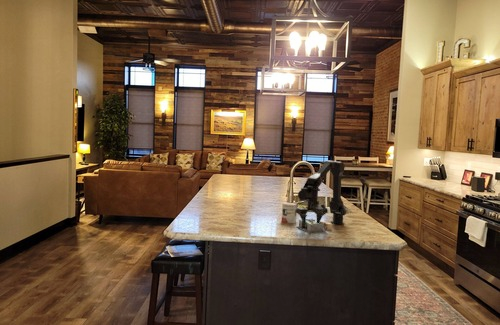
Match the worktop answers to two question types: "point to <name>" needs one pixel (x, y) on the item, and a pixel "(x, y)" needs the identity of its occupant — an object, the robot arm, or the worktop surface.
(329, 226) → the block
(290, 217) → the ink box
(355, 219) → the worktop surface
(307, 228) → the chassis
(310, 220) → the board
